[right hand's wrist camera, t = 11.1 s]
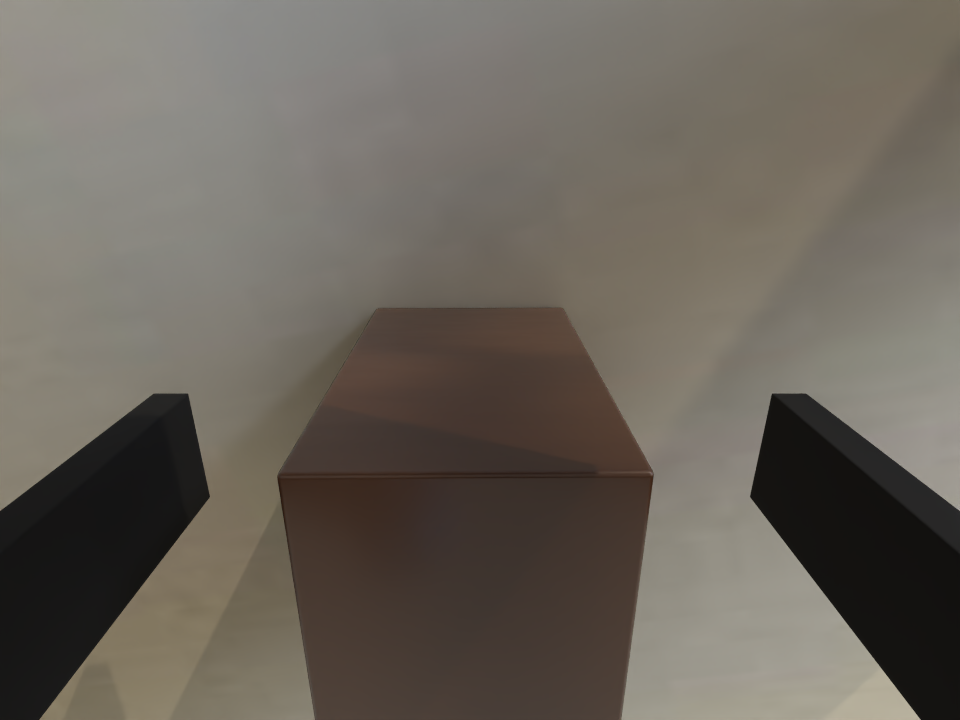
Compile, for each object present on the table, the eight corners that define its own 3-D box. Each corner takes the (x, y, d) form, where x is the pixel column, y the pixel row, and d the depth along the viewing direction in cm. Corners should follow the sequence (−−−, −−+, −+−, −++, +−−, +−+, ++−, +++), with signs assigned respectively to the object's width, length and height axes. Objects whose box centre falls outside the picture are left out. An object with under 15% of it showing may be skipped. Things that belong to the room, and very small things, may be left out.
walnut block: (387, 469, 16) (315, 737, 9) (375, 307, 15) (274, 474, 7) (554, 468, 16) (621, 734, 9) (563, 307, 15) (656, 472, 7)
